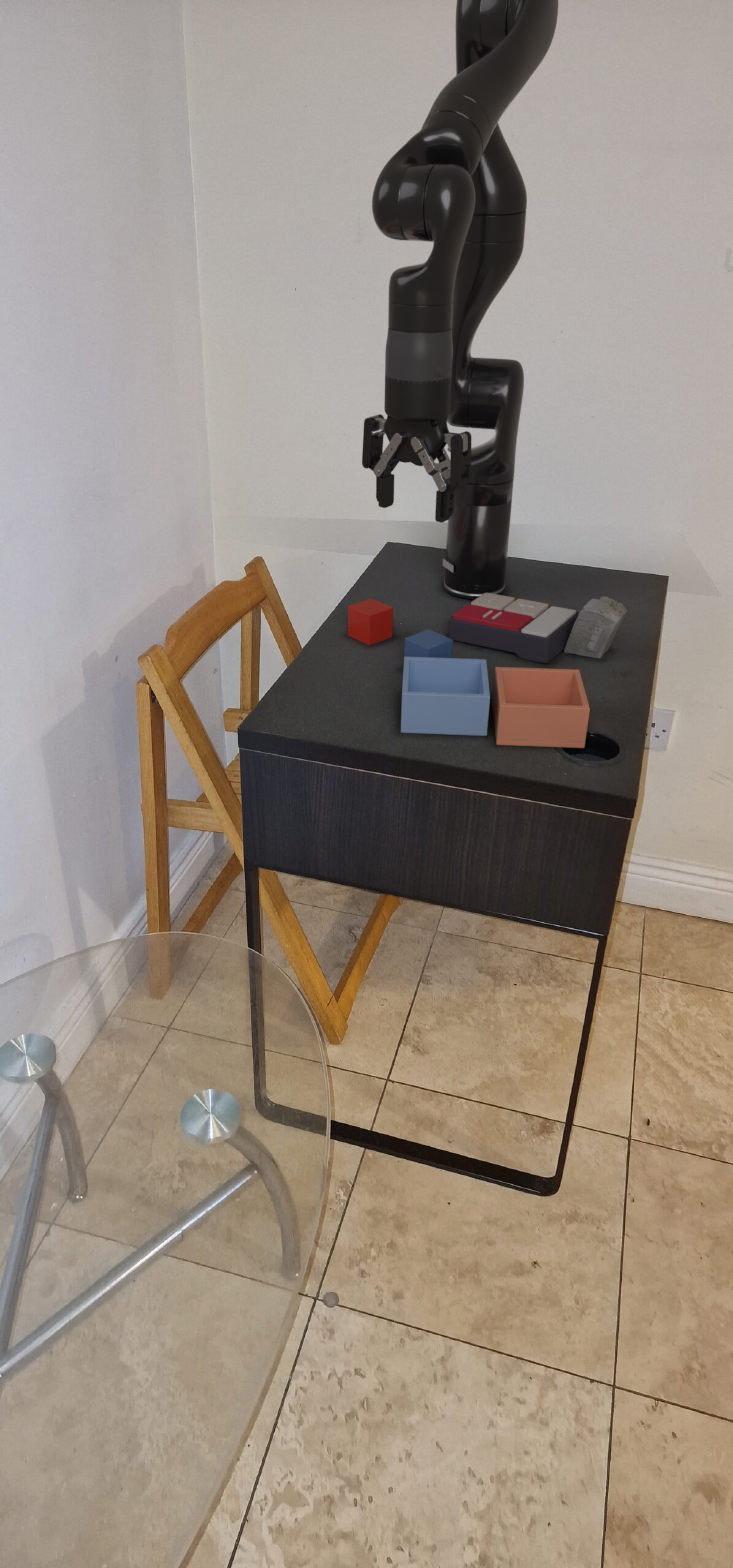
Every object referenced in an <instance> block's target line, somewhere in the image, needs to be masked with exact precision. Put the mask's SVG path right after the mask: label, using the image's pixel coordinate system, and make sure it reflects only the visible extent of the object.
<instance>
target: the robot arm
mask: <svg viewBox="0 0 733 1568" xmlns="http://www.w3.org/2000/svg"><path fill="white" fill-rule="evenodd" d="M455 7H456V8H455V23H454V24H455V25H454V27H455V28H454V30H455V33H454V34H455V76H454V77H453V78H452V79H451V80H450V81H449V82H448V83H447V84H446V85H445V86H444V87H443V88H442V89H441V90H440V92H439V93H438V95H437V96H436V98H435V99H434V101H433V103H432V105H431V107H430V109H429V111H428V114H427V116H426V118H425V119H424V122H423V124H422V126H421V129H420V130H419V131H418V132H417V133H416V134H414V135H413V136H412V137H410V139H408V140H407V142H406V143H405V144H404V145H403V146H401V148H399V149H398V150H397V152H395V153H394V154H393V155H392V156H391V157H390V158H389V159H388V160H387V162H386V163H385V165H384V166H383V168H382V169H381V171H380V173H379V174H378V177H377V179H376V181H375V185H374V188H373V190H372V191H373V192H372V197H371V213H372V216H373V217H372V218H373V221H374V223H375V225H376V227H377V229H378V230H379V232H381V234H383V235H384V236H385V237H387V238H389V239H391V240H395V241H408V242H429V243H431V242H432V249H431V251H430V254H429V256H428V258H427V259H426V261H424V262H422V263H418V264H412V265H407V266H402V267H399V268H396V269H395V270H394V271H393V272H392V273H391V274H390V277H389V281H388V301H387V303H388V307H387V310H388V312H387V335H386V342H385V351H384V359H385V360H384V413H385V414H386V415H387V416H386V418H385V417H384V415H383V414H380V413H379V414H375V415H372V416H369V417H366V418H364V421H363V435H362V438H363V439H362V456H361V465H362V467H363V468H364V469H369V470H371V471H372V472H373V474H374V476H375V482H376V483H375V498H376V502H378V507H379V508H383V509H386V508H389V507H391V506H393V505H394V501H395V474H394V473H392V472H393V471H395V468H396V467H397V466H398V464H400V463H404V464H406V463H411V464H413V465H415V466H417V467H423V468H424V470H425V472H426V474H427V475H428V476H431V477H432V480H433V481H434V484H435V486H436V488H437V490H436V492H435V493H436V494H435V513H434V520H435V521H436V522H438V523H441V524H442V523H444V522H447V532H446V546H445V547H446V549H445V559H444V558H442V567H444V579H443V589H444V591H445V592H446V593H448V594H449V595H451V596H454V597H456V598H457V597H458V598H461V599H467V600H475V599H477V598H478V597H480V596H481V595H483V594H484V593H491V594H497V595H503V594H504V593H505V591H506V574H507V565H508V564H507V563H508V562H507V561H508V551H509V540H510V527H511V516H512V504H513V503H512V502H513V490H514V479H515V469H516V455H517V453H516V452H517V445H518V444H517V443H518V433H519V427H520V426H519V425H520V419H521V412H522V405H523V399H524V388H525V372H524V367H523V365H522V363H521V362H520V361H519V360H517V359H510V358H494V357H475V356H472V346H473V342H474V339H475V336H476V333H477V331H478V329H479V327H480V325H481V323H482V321H483V319H484V317H485V316H486V314H487V312H488V310H489V308H490V307H491V306H492V305H493V302H494V301H495V299H496V298H497V296H498V294H499V293H500V292H501V290H502V289H503V287H504V286H505V285H506V283H507V282H508V280H509V279H510V277H511V276H512V274H513V273H514V271H515V269H516V268H517V265H518V264H519V261H520V259H521V258H522V254H523V252H524V245H525V236H526V235H525V233H526V222H527V221H526V220H527V219H526V218H527V208H528V207H527V205H528V196H527V188H526V185H525V182H524V178H523V175H522V173H521V171H520V168H519V166H518V164H517V162H516V159H515V157H514V155H513V153H512V151H511V149H510V148H509V145H508V142H507V141H506V139H505V136H504V134H503V132H502V129H501V127H500V125H499V121H500V120H501V118H502V116H503V115H504V113H505V112H506V110H507V109H508V108H509V107H510V105H511V104H512V103H513V101H514V100H515V99H516V97H517V96H518V95H519V94H520V92H521V91H522V89H523V88H524V87H525V86H526V84H527V83H528V82H529V80H530V79H531V77H532V76H533V75H534V74H535V72H536V71H537V69H538V67H539V66H540V65H541V64H542V62H543V61H544V59H545V58H546V56H547V54H548V52H549V50H550V48H551V46H552V43H553V41H554V37H555V33H556V29H557V24H558V17H559V0H456V6H455ZM448 425H449V426H452V427H455V428H467V429H482V430H493V431H494V436H492V438H490V439H489V440H487V441H486V442H484V443H482V444H479V445H476V446H473V447H472V434H471V432H470V431H468V430H467V431H463V432H460V433H459V432H451V431H450V430H449V426H448ZM384 435H385V436H386V438H387V440H388V442H389V443H388V444H387V446H386V447H385V448H384ZM446 445H447V449H445V447H446ZM447 451H448V452H449V453H450V456H449V454H448V452H447ZM436 460H437V461H438V462H435V461H436Z"/></svg>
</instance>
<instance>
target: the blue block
mask: <svg viewBox="0 0 733 1568" xmlns="http://www.w3.org/2000/svg"><path fill="white" fill-rule="evenodd" d="M453 645H454V640H452V639H450V638H448V636H445V635H443V634H441V633H438V632H436V631H434V630H432V629H426V630H423V631H421V632H418V633H415V634H413V635H409V636H407V637H405V638H404V648H403V649H404V650H403V651H404V652H403V658H404V657H431V658H453V648H454V647H453Z"/></svg>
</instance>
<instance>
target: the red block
mask: <svg viewBox="0 0 733 1568" xmlns="http://www.w3.org/2000/svg"><path fill="white" fill-rule="evenodd" d="M347 614H348V615H347V635H348V637H350V638H352V639H354V640H356V641H358V642H360V643H362V644H364V645H367V646H369V647H370V646H372V645H375V644H377V643H381V642H384V641H386V640H389V639H391V638H393V634H394V633H393V631H394V630H393V626H394V607H392V606H390V605H388V604H386V603H383V602H381V601H379V600H376V599H374V598H368V599H365V600H363V601H360V602H357V603H354V604H351V605H348V607H347Z"/></svg>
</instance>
